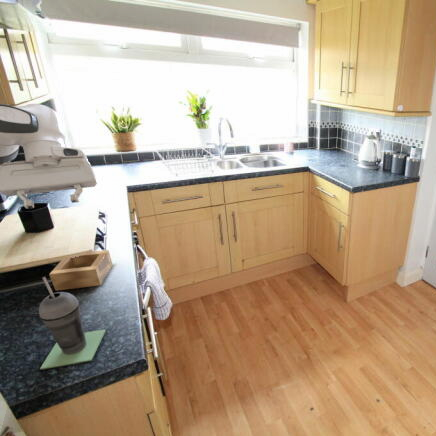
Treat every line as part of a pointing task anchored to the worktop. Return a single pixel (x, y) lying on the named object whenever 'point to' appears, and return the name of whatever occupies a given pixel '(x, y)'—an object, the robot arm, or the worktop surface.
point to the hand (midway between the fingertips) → (52, 204)
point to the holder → (81, 270)
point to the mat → (86, 354)
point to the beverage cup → (63, 320)
